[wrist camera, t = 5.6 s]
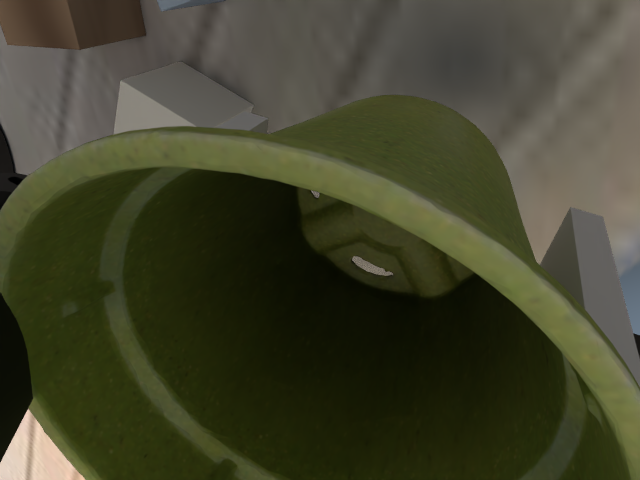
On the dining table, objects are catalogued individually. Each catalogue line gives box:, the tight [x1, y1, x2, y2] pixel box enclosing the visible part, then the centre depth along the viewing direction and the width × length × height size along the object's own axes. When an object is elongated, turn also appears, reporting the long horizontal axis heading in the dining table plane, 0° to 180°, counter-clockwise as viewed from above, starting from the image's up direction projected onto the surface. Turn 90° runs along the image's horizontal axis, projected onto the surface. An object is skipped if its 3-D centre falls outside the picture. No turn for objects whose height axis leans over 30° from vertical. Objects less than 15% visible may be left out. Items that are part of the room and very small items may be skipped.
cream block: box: [113, 61, 254, 135], centre depth 27 cm, size 5×5×5 cm
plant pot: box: [0, 95, 640, 480], centre depth 10 cm, size 9×9×9 cm
